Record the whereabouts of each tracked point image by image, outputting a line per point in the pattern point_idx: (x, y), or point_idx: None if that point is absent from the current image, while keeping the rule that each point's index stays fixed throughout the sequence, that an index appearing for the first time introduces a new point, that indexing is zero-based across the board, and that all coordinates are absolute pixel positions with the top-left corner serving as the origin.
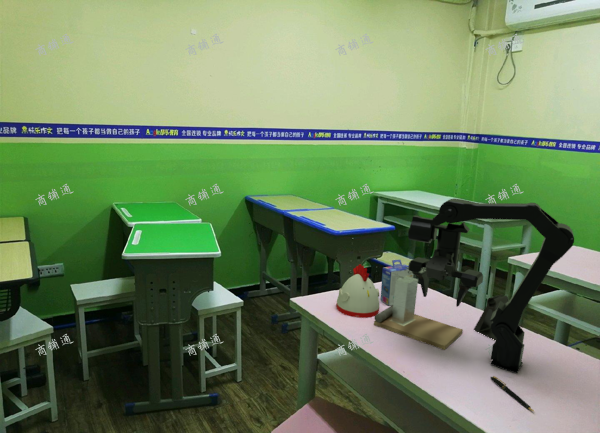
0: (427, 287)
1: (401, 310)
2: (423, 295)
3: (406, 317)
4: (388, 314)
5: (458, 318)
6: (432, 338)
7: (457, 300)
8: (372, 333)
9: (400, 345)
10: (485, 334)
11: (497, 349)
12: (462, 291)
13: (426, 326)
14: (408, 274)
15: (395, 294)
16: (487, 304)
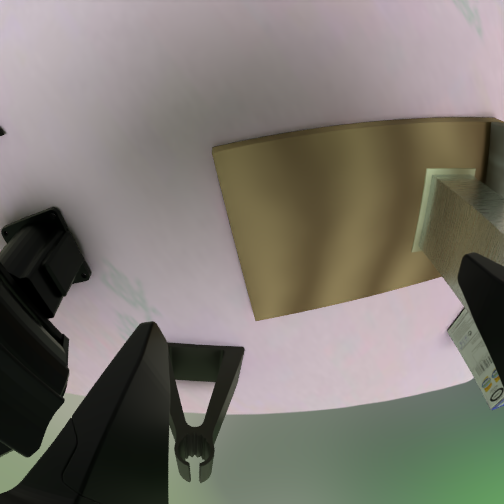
0: (495, 343)
1: (478, 201)
2: (481, 256)
3: (443, 206)
4: (493, 182)
5: (314, 364)
6: (291, 166)
7: (129, 369)
8: (471, 50)
9: (359, 29)
10: (202, 349)
11: (33, 257)
12: (44, 479)
13: (362, 239)
14: (497, 385)
15: None
16: (210, 439)
